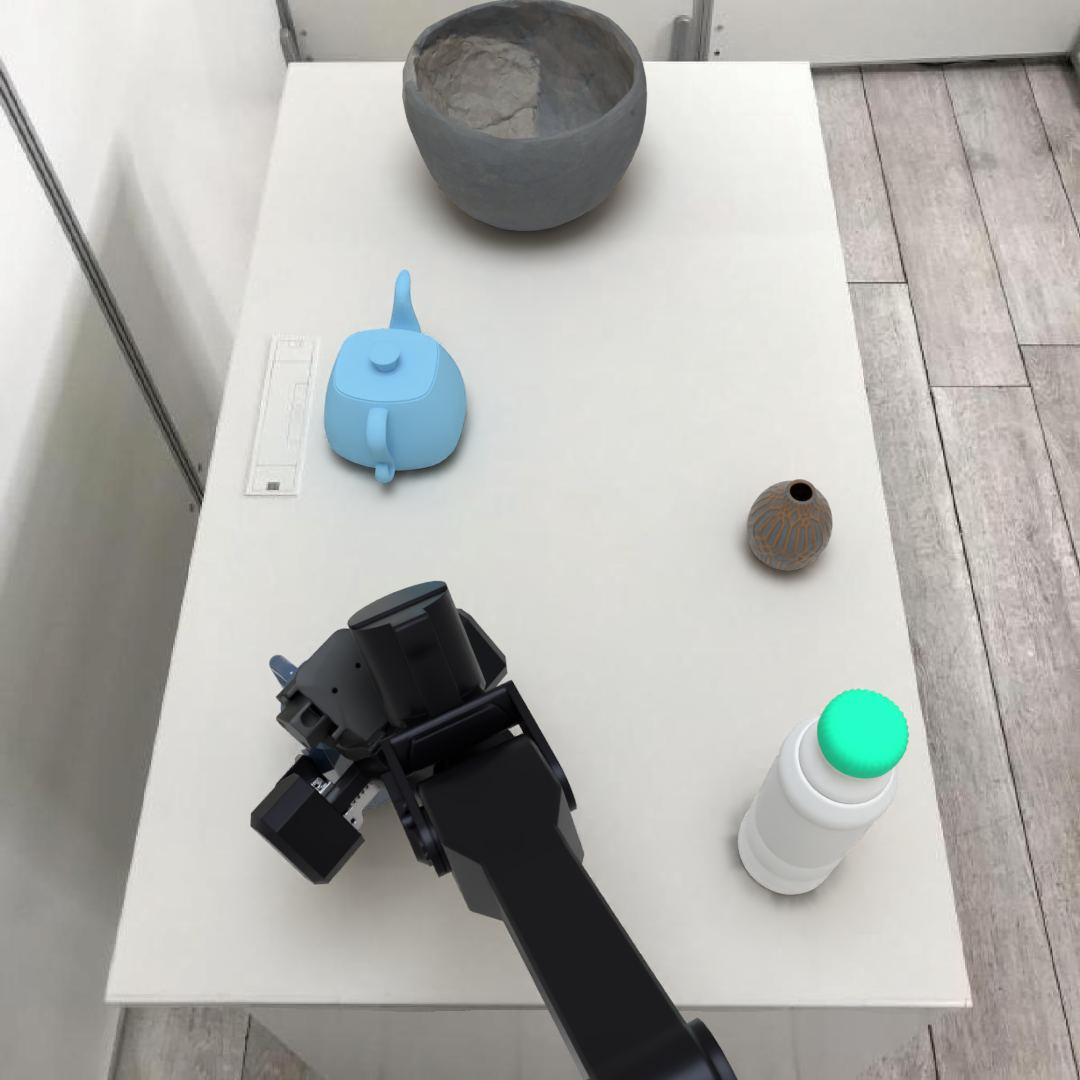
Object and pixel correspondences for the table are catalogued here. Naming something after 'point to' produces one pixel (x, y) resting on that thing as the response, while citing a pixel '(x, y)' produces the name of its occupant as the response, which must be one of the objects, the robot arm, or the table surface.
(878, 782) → the water bottle
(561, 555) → the table surface
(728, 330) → the table surface
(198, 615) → the table surface
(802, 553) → the vase
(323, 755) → the mug
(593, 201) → the bowl
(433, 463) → the teapot
